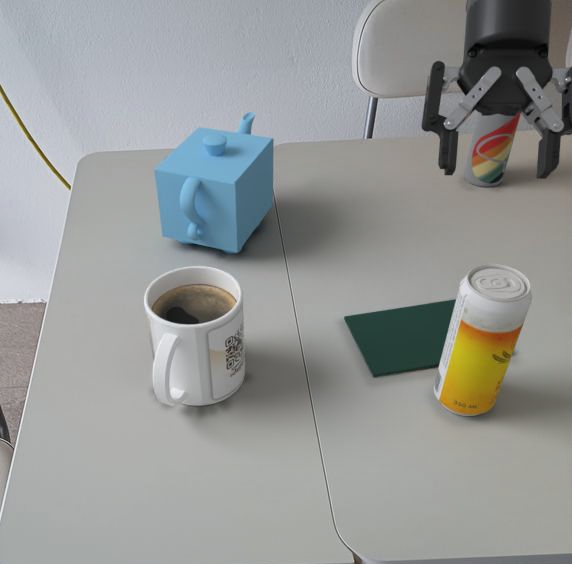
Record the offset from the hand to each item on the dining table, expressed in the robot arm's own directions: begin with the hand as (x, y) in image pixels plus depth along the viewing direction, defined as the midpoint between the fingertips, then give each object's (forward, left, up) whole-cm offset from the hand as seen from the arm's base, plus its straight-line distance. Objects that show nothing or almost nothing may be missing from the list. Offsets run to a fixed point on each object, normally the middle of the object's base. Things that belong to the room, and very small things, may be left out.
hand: (496, 174), depth 62 cm
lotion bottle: (-19, -31, -19) cm, 42 cm away
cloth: (+4, +1, -19) cm, 20 cm away
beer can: (+4, +10, -19) cm, 22 cm away
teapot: (+22, -28, -19) cm, 41 cm away
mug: (+31, +2, -19) cm, 37 cm away
